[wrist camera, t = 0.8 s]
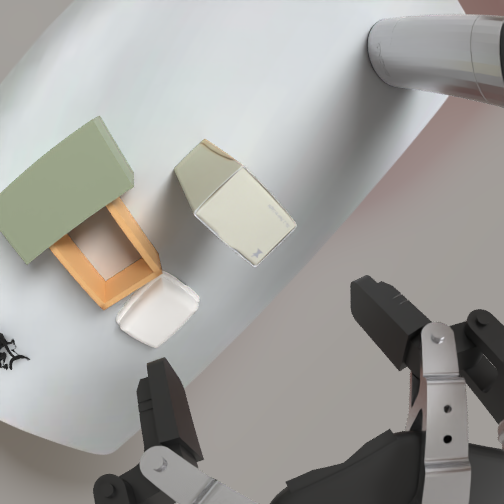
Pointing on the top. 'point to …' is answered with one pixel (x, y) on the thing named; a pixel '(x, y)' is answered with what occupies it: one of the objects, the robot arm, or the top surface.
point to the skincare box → (233, 203)
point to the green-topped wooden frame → (77, 210)
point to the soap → (158, 310)
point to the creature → (2, 342)
